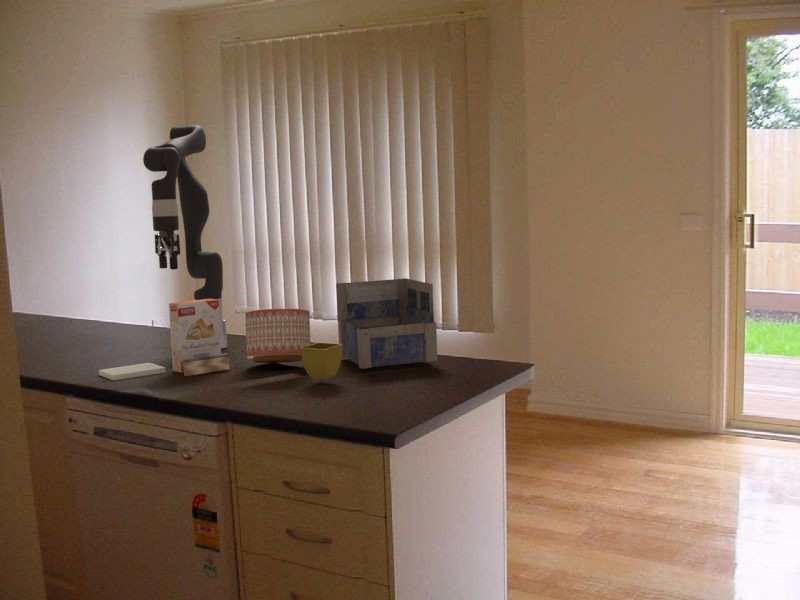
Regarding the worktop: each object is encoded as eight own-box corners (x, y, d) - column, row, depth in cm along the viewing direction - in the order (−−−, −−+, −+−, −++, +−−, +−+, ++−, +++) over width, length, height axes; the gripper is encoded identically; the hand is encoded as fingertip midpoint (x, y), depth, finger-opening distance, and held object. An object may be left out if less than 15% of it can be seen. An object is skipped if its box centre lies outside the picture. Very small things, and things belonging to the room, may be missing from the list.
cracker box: (182, 374, 278) (177, 304, 276) (172, 372, 283) (167, 302, 280) (223, 367, 288) (219, 298, 285) (213, 364, 292) (208, 297, 290)
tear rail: (227, 368, 285) (226, 353, 284) (229, 369, 284) (229, 354, 283) (184, 375, 277) (183, 359, 276) (186, 376, 275) (185, 360, 275)
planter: (242, 364, 290) (241, 316, 292) (304, 362, 295) (303, 315, 297) (251, 359, 272) (249, 308, 273) (316, 358, 277) (315, 308, 279)
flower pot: (326, 381, 260) (324, 349, 259) (300, 379, 264) (299, 347, 263) (344, 375, 267) (343, 344, 266) (319, 373, 272) (318, 342, 271)
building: (437, 360, 285) (434, 284, 282) (361, 368, 277) (358, 289, 274) (410, 349, 307) (407, 278, 304) (339, 356, 299) (336, 283, 296)
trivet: (150, 367, 292) (149, 362, 292) (165, 372, 282) (165, 367, 282) (99, 374, 283) (98, 370, 282) (113, 380, 273) (112, 375, 273)
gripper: (186, 214, 280) (189, 268, 281) (168, 214, 291) (171, 267, 293) (162, 215, 275) (165, 270, 277) (144, 215, 287) (148, 268, 289)
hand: (168, 268), depth 285 cm, fingers open, 8 cm apart
